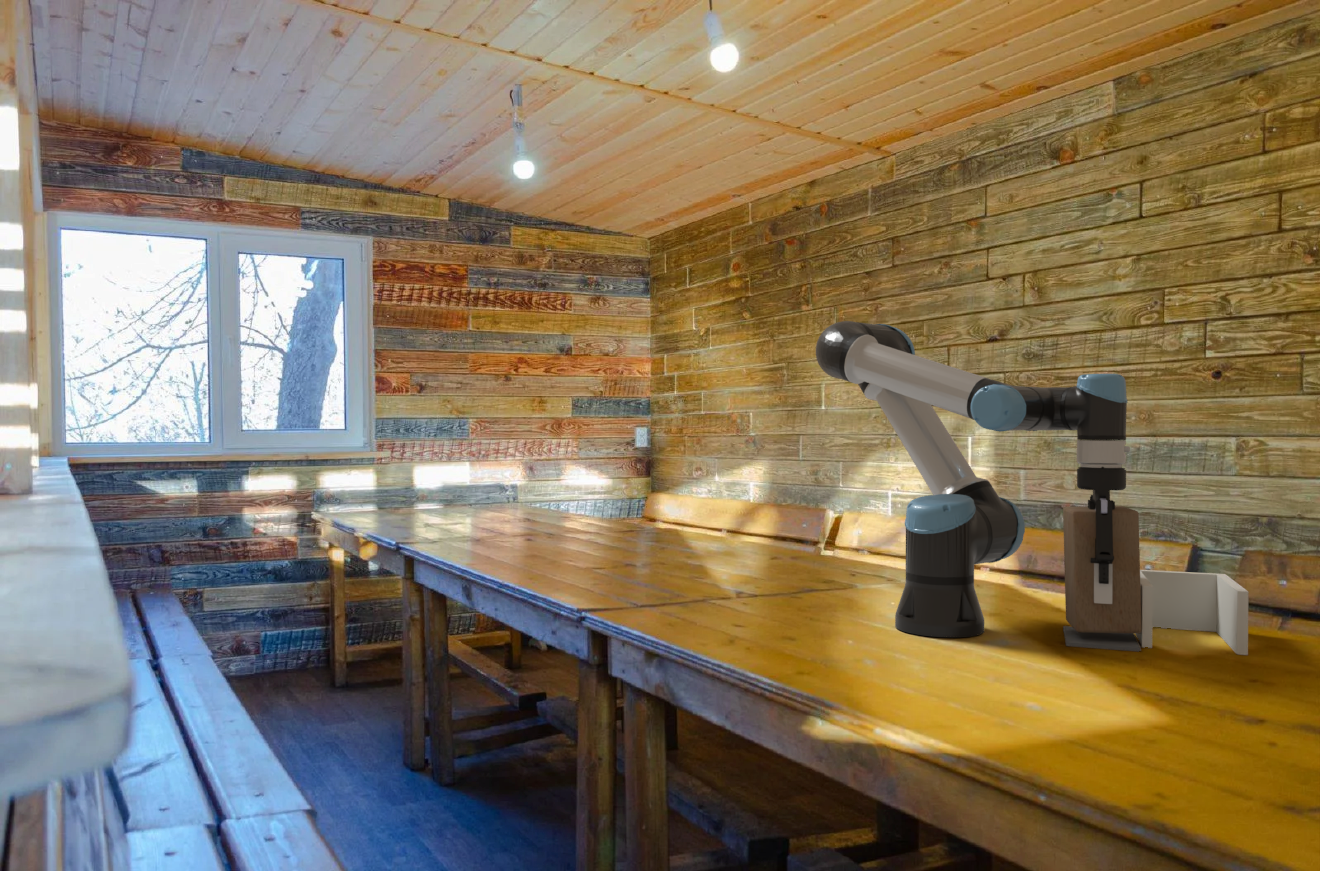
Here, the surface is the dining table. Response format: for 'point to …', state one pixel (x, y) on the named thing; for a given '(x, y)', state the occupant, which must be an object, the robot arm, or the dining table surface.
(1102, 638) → the mat
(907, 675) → the dining table surface
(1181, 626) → the white u-shaped bracket
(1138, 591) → the wooden block
